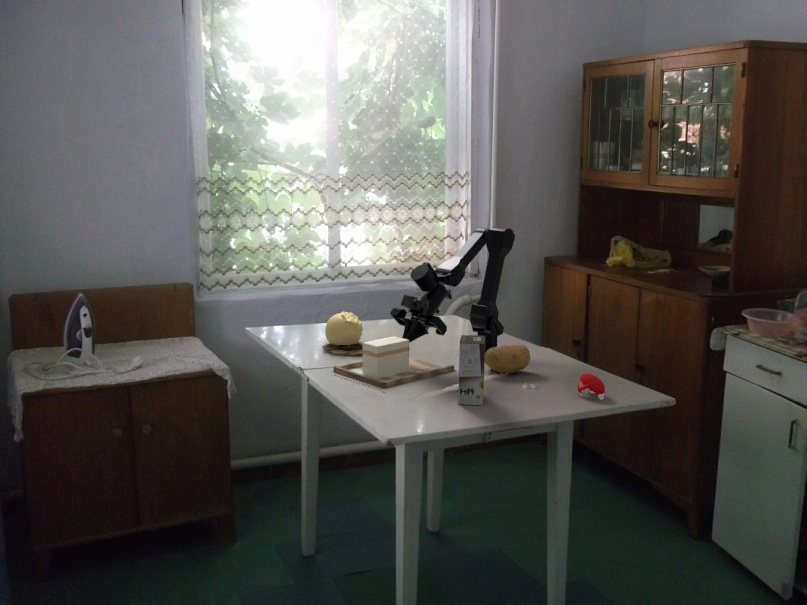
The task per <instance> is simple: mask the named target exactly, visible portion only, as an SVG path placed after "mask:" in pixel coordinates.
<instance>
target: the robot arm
mask: <svg viewBox="0 0 807 605" xmlns="http://www.w3.org/2000/svg"><path fill="white" fill-rule="evenodd" d="M472 233H473V234H472V235H470V237H469V238H468V239H467V240H466V241H465V242H464V244H463V245H462V246H461V247H460V249H459V250H458V251H457V253H455V254H454V256H452V257H451V258H449V259H447V260H445V261H443V262H442V263H440V264H439V265H438V266H437V267H436V268H435V269H434V268H433V267H432V264H431V263H430V262H428V261H427V262H426V261H424V262H423V263H422V264H419V265H417V266H416V267H415V268H413V269H412V270H411V272H410V275H409V277H410V279H411V280H412V281H413V282H414V283H415V285H416V286H417V288H419V289H420V291H421V292H424V293H423V295H418V296H417V297H416V296H413V295H408V294H403V297H402V300H401V301H400V306H402V307H406V308H407V310H408V312H407V310H406V308H401V307H397V306H396V307H393V308H391V311H390V312H389V314H390V316H391V317H392V318H393V319H394V321H395V322H396V323H397V324H398V325H400V326H402V327H404V328H403V329H404V330H403V333H402V337H401V338H404V339H408V340H409V344H410V343H412V342H413V341H416V340H417V339H419V338H422V337H424V336H425V335H429V333H430V332H429V330H430V329H432V328H434V329H435V334H436V335H438V336H443V337H444V335H445V334H446V332H447V330H448V326H447V325H446V323H445V322H444V321H443V320H442V318H441V317H440V316H437V315H439V314H440V313H441V311H440V310H439V308H440V307H441V305H442V304H443V302H444V301H445V299H446V300H452V299H453V295H452V293H451V292H452V290H451V289H448V288H446V287H453V288H456V287H458V286H459V285H460V284H461V282H462V281H463V279H464V277H466V270H467V267H468V266H469V265H470V264H471V262H473V260H474V259H475V258H476V256H477V255H478V254H479V252H481V250H482V249H483V248H484V247H486V250H487V253H488V256H487V257H488V259H487V263H486V268H485V272H484V277H483V283H482V288H481V292H480V297H479V300H478V301H477V302H476V303H472V304H471V308H470V309H471V310H470V313H469V316H468V317H469V323H470V324H471V329H472V332H473V333H477V334H476V335H478V336H485V353H486V352H487V350H489V349H490V348H493V347H498V339H499V338H498V337H500V336H501V335H503V334H504V330H505V327H504V326H503V323H501V321H500V320H499V315H500V314H499V309H498V306H497V303H496V302H497V297H498V293H499V289H500V282H501V278H502V272H503V268H504V264H505V263H504V262H505V258H506V257H507V255H509V253H510V252H511V251H512V249H513V246H514V243H515V239H516V235H515V233H514V231H513V229H512V228H510V227H501V226H500V227H499V226H492V227H491V228H486V227H484V228H483V227H477V228H475V229H474V230H473V232H472Z"/></svg>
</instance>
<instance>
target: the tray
mask: <svg viewBox="0 0 807 605" xmlns="http://www.w3.org/2000/svg"><path fill="white" fill-rule="evenodd" d="M431 368H434V369H431ZM427 369H429V370H427ZM424 370H426V371H424ZM451 371H455V364H448V365H445V366H442V365H437V364H435V363H432V362H428V361H425V360H421V359H416V358H415V357H414V358H413V357H410V356H409V371H407V372H403V373H398V374H394V375H390V376H386V377H382V378H378V379H376V378H373V377H370V376H367V375H364V374H363V359H362V360H358V361H355V362H354V361H352V362H350V363H348V362H347V363H345V364H340V365H335V366H333V372H335V373H337V374H340V375H343V376H347V377H349V378H352V379H355V380H359V381H361V382H365V383H367V384H370V385H373V386H377V387H379V388H382V389H384V388H385V389H386V388H388V387H393V386H397V385H401V384H405V383H409V382H413V381H416V380H421V379H425V378H429V377H433V376H437V375H440V374H444V373H447V372H451ZM334 375H335V374H334ZM337 376H338V377H337ZM335 377H337V378H340V377H341V376H339V375H335ZM343 378H344V377H341V379H343ZM343 380H347V381H349V380H350V379H347V378H344V379H343ZM352 381H353V380H350V381H349V382H352ZM355 382H356V381H353V382H352V383H355ZM358 383H359V384H358ZM355 384H358V385H360V384H362V383H360V382H356V383H355ZM363 385H365V384H362V385H361V386H363ZM366 386H368V385H365V386H364V387H366ZM369 387H370V386H368V387H367V388H369Z"/></svg>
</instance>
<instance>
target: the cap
mask: <svg viewBox="0 0 807 605" xmlns="http://www.w3.org/2000/svg"><path fill="white" fill-rule="evenodd" d="M576 388H577V391H578V393H579V392H580V393H582V394H583V392H582V391H584V390H587V389H588V390H589V391H590V390H591V391H593V392H595V393H594V394H595V396H596V395H599V394H603V393H605V394H606V391H605V390H606V387H605V384H604V382H603V381H602V379H600V377H598V376H597V375H594V374H592V373H589V372H588V373H587V372H586V373H582V374H580V375H579V380H578V382H577V386H576Z"/></svg>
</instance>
